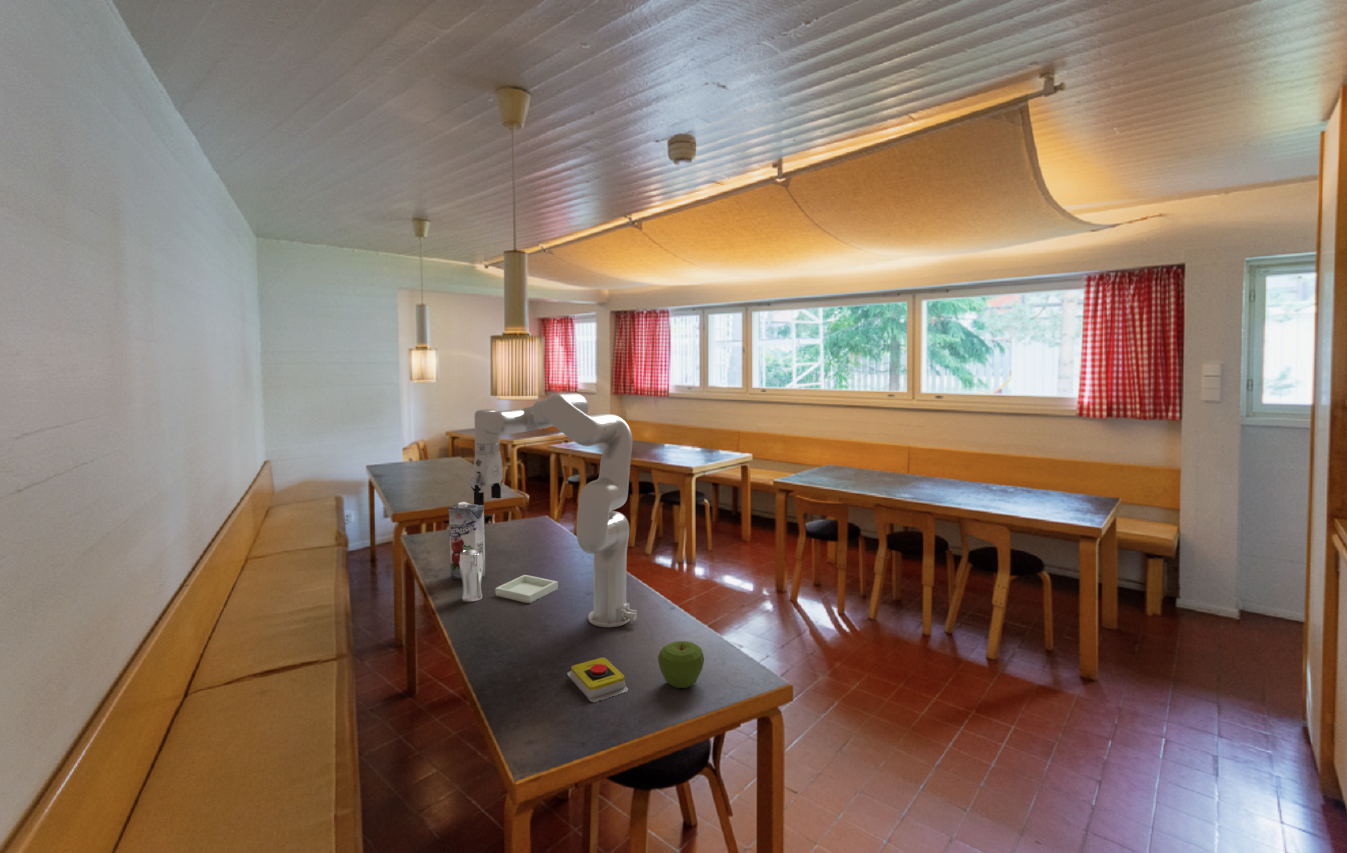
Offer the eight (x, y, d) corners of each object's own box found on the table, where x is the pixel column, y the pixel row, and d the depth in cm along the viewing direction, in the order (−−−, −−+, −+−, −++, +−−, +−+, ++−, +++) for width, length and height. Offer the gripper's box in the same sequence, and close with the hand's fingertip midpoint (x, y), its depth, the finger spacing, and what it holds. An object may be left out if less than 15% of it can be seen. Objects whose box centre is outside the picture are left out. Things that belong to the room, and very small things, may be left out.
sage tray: (557, 588, 195) (557, 581, 194) (530, 603, 182) (529, 595, 182) (524, 581, 201) (524, 574, 200) (495, 595, 188) (495, 588, 188)
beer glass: (456, 598, 185) (454, 552, 184) (475, 592, 191) (474, 547, 189) (468, 604, 181) (467, 557, 180) (488, 597, 187) (487, 551, 185)
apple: (689, 668, 143) (690, 629, 142) (712, 689, 134) (713, 647, 133) (650, 679, 138) (650, 639, 137) (670, 701, 129) (671, 658, 128)
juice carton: (464, 571, 210) (462, 497, 207) (488, 575, 207) (487, 500, 204) (447, 580, 202) (444, 503, 199) (472, 584, 198) (470, 505, 196)
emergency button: (592, 686, 128) (565, 657, 140) (592, 705, 128) (565, 675, 141) (629, 674, 133) (600, 648, 145) (629, 693, 133) (600, 665, 146)
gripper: (482, 452, 177) (482, 508, 179) (512, 445, 194) (512, 496, 195) (460, 451, 179) (461, 506, 181) (491, 444, 196) (492, 494, 197)
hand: (487, 501), depth 188 cm, fingers open, 9 cm apart
